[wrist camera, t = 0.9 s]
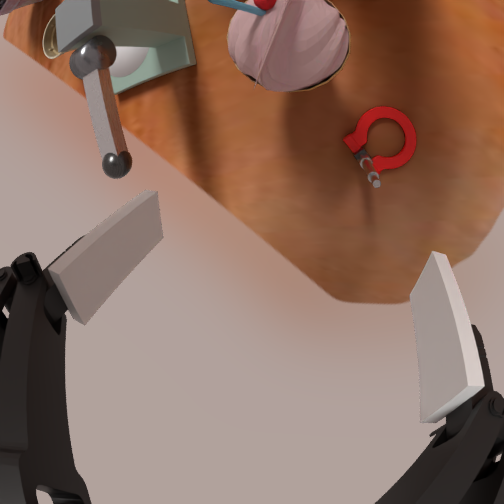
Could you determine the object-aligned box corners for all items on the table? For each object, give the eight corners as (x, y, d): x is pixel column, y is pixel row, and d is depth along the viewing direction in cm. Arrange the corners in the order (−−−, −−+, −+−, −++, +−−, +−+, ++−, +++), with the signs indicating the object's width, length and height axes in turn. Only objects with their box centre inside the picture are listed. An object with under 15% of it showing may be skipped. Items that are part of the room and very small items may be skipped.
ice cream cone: (255, 82, 31) (173, 84, 15) (270, 11, 25) (199, -47, 9) (337, 101, 30) (336, 114, 14) (354, 28, 23) (368, -33, 7)
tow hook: (388, 94, 27) (337, 133, 32) (419, 94, 17) (341, 152, 22) (424, 145, 29) (374, 181, 34) (465, 172, 19) (393, 222, 24)
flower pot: (115, 26, 29) (78, 25, 22) (88, 63, 34) (52, 68, 27) (96, 2, 26) (61, 0, 19) (71, 38, 31) (37, 41, 24)
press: (104, 25, 29) (12, 31, 14) (184, -17, 23) (89, -47, 8) (115, 95, 37) (22, 122, 22) (199, 63, 31) (98, 64, 16)
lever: (94, 47, 19) (66, 49, 16) (114, 34, 18) (85, 34, 15) (123, 172, 27) (99, 186, 24) (143, 168, 26) (119, 182, 23)
